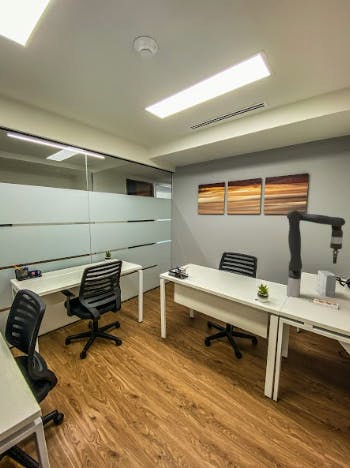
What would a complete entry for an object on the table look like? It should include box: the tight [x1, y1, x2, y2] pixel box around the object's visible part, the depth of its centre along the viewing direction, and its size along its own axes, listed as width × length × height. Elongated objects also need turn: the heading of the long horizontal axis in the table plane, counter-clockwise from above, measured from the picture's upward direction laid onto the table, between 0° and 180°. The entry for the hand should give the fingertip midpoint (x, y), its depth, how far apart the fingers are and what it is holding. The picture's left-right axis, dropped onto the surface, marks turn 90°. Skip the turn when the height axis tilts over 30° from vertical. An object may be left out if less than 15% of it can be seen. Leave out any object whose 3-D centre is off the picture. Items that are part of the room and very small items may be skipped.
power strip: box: [308, 298, 339, 311], centre depth 159 cm, size 18×7×3 cm, turn 51°
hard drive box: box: [316, 270, 338, 299], centre depth 180 cm, size 16×8×20 cm, turn 168°
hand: (334, 262), depth 164 cm, fingers open, 8 cm apart
